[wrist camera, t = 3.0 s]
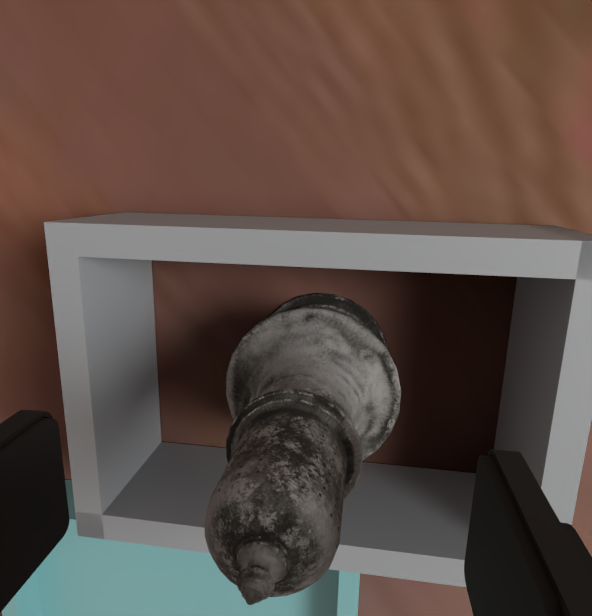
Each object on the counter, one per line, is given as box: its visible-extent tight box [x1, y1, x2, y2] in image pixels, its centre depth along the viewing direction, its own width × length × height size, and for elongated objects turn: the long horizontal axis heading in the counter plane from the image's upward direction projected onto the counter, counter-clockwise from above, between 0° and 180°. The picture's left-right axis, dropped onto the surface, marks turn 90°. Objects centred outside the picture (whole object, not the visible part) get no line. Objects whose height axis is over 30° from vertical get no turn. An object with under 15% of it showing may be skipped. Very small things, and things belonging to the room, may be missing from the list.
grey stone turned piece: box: [205, 293, 401, 605], centre depth 14 cm, size 6×6×12 cm
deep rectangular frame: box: [44, 212, 592, 587], centre depth 17 cm, size 16×11×5 cm
